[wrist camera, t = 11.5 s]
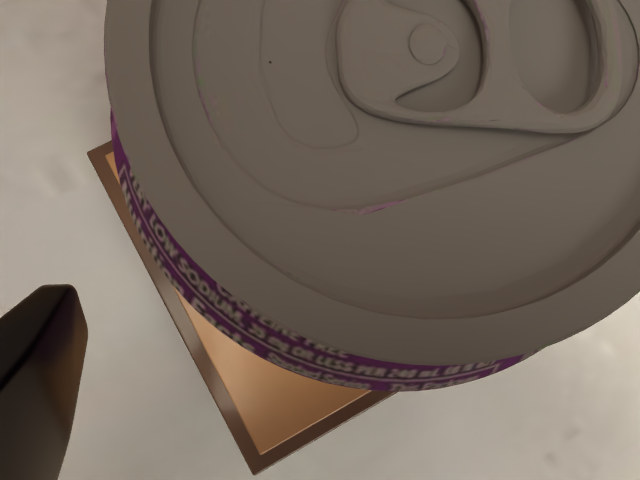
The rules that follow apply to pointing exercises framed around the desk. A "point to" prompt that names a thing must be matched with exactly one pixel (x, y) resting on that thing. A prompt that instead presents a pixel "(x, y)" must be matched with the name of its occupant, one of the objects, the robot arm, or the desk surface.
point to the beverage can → (384, 174)
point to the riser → (244, 366)
